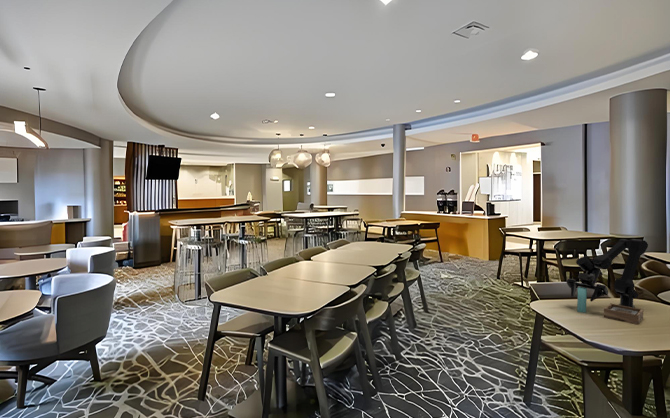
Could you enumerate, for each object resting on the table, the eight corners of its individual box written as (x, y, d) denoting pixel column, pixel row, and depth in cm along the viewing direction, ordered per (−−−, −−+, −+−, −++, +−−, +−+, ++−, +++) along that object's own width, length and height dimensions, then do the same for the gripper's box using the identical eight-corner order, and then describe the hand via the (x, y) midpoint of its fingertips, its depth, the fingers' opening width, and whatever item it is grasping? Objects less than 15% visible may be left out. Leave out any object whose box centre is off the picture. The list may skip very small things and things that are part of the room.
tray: (610, 311, 190) (610, 303, 190) (643, 318, 179) (643, 309, 179) (603, 317, 181) (604, 308, 181) (638, 324, 171) (638, 315, 170)
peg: (578, 309, 193) (579, 286, 192) (587, 311, 190) (587, 288, 189) (576, 311, 190) (576, 287, 190) (584, 313, 187) (585, 289, 187)
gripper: (568, 264, 199) (557, 286, 194) (606, 270, 183) (596, 294, 178) (574, 276, 204) (564, 297, 198) (612, 283, 188) (602, 306, 182)
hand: (581, 298), depth 189 cm, fingers open, 9 cm apart
